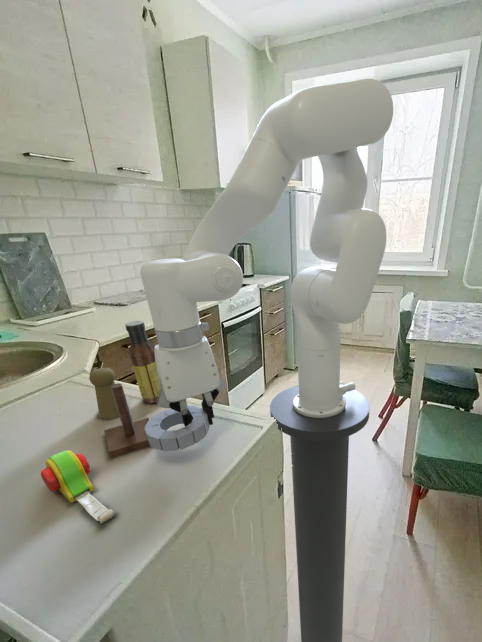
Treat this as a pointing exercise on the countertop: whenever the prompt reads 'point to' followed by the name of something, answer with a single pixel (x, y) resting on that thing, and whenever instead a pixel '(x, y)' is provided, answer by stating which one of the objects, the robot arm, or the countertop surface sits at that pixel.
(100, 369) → the cork
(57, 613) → the countertop surface
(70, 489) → the toy measuring tape
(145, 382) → the sauce bottle
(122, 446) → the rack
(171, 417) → the segmented block ring
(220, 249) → the robot arm
